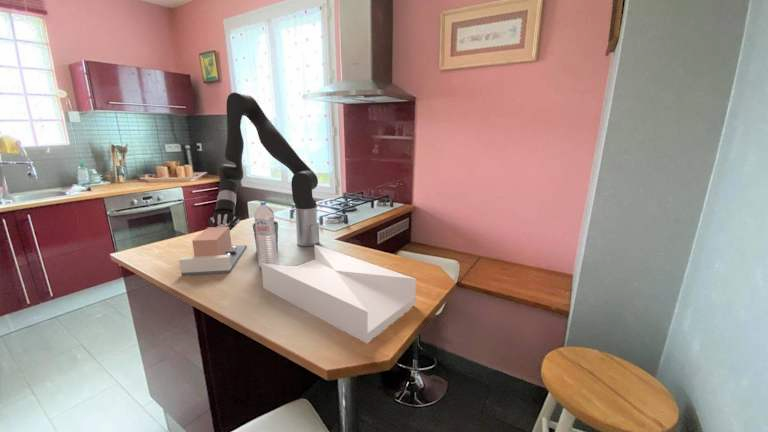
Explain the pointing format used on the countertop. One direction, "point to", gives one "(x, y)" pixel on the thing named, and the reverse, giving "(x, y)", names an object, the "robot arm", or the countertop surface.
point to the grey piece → (210, 263)
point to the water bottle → (265, 235)
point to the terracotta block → (212, 242)
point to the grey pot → (275, 233)
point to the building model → (343, 291)
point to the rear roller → (231, 250)
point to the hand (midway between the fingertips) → (220, 239)
